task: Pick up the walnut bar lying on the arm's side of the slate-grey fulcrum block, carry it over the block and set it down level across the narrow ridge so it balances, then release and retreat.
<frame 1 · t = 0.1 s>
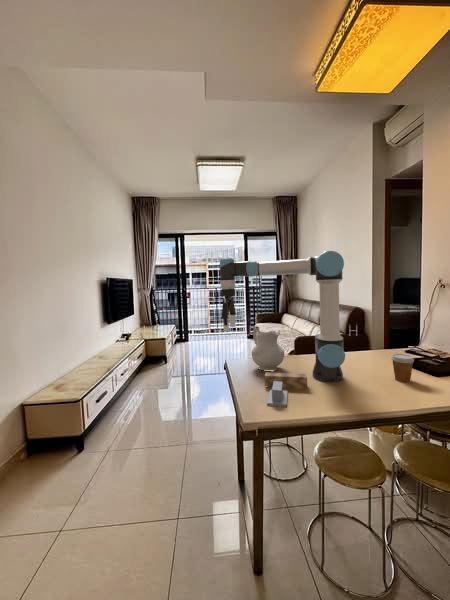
hand: (229, 329, 140), 28 cm above the table, fingers open, 13 cm apart
disposable coffee cup: (402, 380, 133), on the table
fulcrum: (277, 398, 118), on the table
walnut bar: (285, 386, 132), on the table
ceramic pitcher: (266, 368, 160), on the table
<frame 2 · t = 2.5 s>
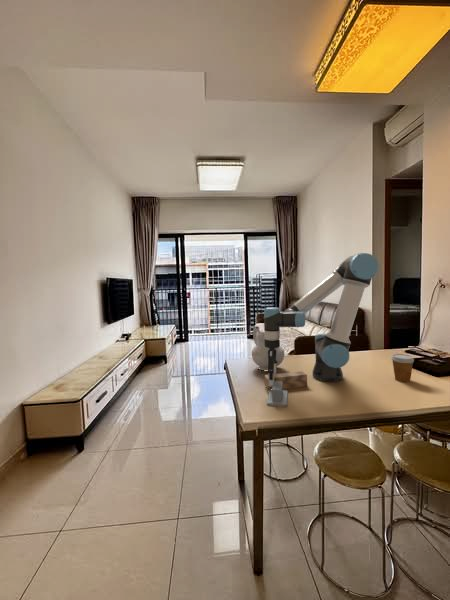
hand: (272, 380, 133), 2 cm above the table, fingers open, 13 cm apart
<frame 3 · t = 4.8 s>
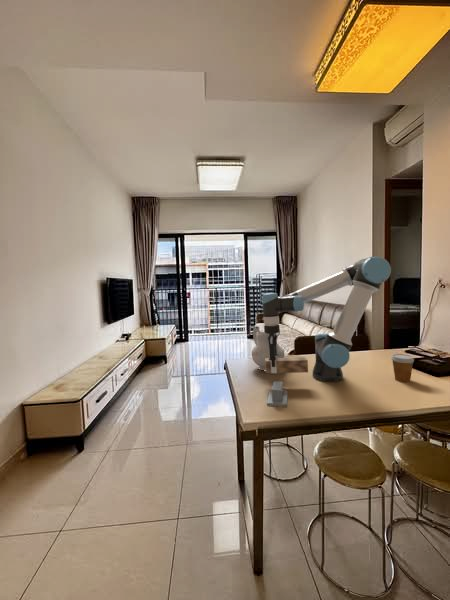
hand: (274, 370, 133), 8 cm above the table, fingers closed on walnut bar, 6 cm apart
walnut bar: (286, 371, 132), point 7 cm above the table, touching gripper
everything else where it was.
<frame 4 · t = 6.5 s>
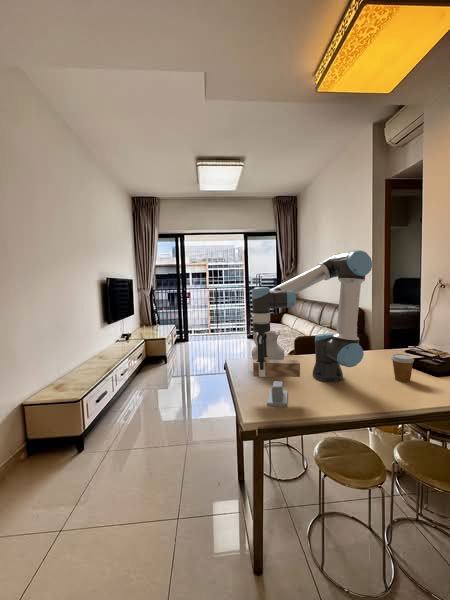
hand: (263, 373, 119), 11 cm above the table, fingers closed on walnut bar, 5 cm apart
walnut bar: (275, 374, 118), point 11 cm above the table, touching gripper
everything else where it was.
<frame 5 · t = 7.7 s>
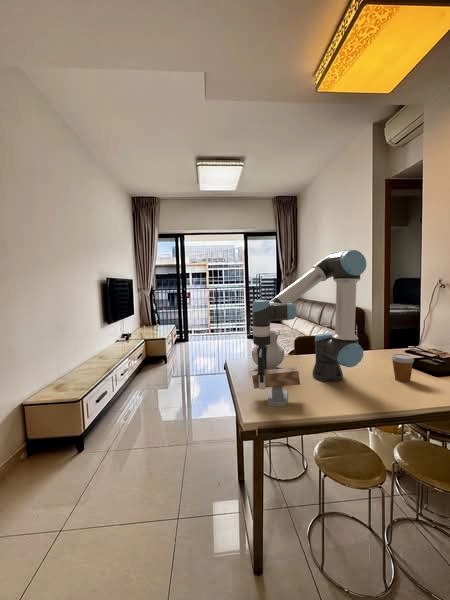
hand: (263, 386, 119), 5 cm above the table, fingers closed on walnut bar, 5 cm apart
walnut bar: (276, 384, 119), point 6 cm above the table, tilted 5°, touching fulcrum, gripper
everything else where it was.
when the fingers open (5 cm above the table, at t = 8.1 s): walnut bar stays where it is, resting on fulcrum.
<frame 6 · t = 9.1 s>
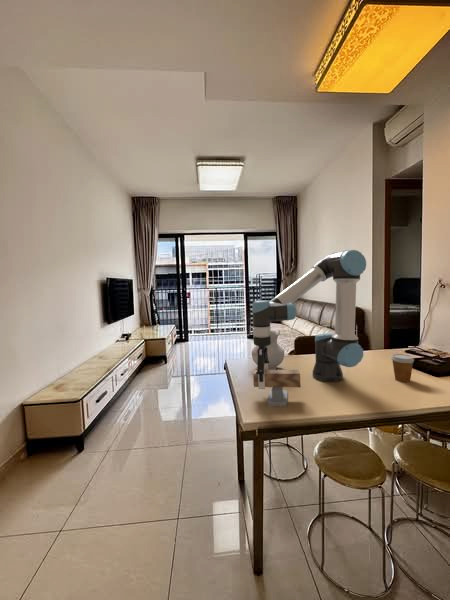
hand: (263, 382, 119), 7 cm above the table, fingers open, 13 cm apart
walnut bar: (276, 384, 119), point 6 cm above the table, touching fulcrum
everything else where it was.
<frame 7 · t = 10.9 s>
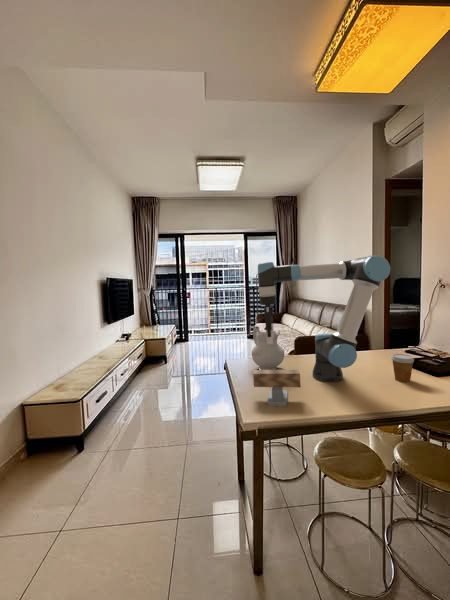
hand: (270, 340, 126), 24 cm above the table, fingers open, 13 cm apart
nothing on the table moved.
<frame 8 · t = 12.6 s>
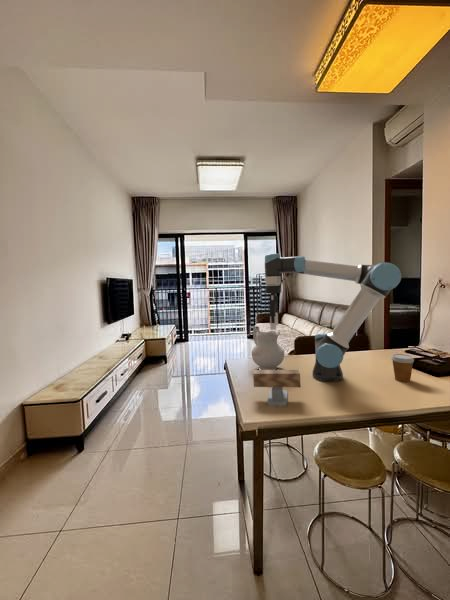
hand: (274, 327, 135), 29 cm above the table, fingers open, 13 cm apart
nothing on the table moved.
at the end: walnut bar 0.9 cm off-centre on the fulcrum, point 6.0 cm above the fulcrum's base; walnut bar tilted 0°; walnut bar touching fulcrum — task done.
